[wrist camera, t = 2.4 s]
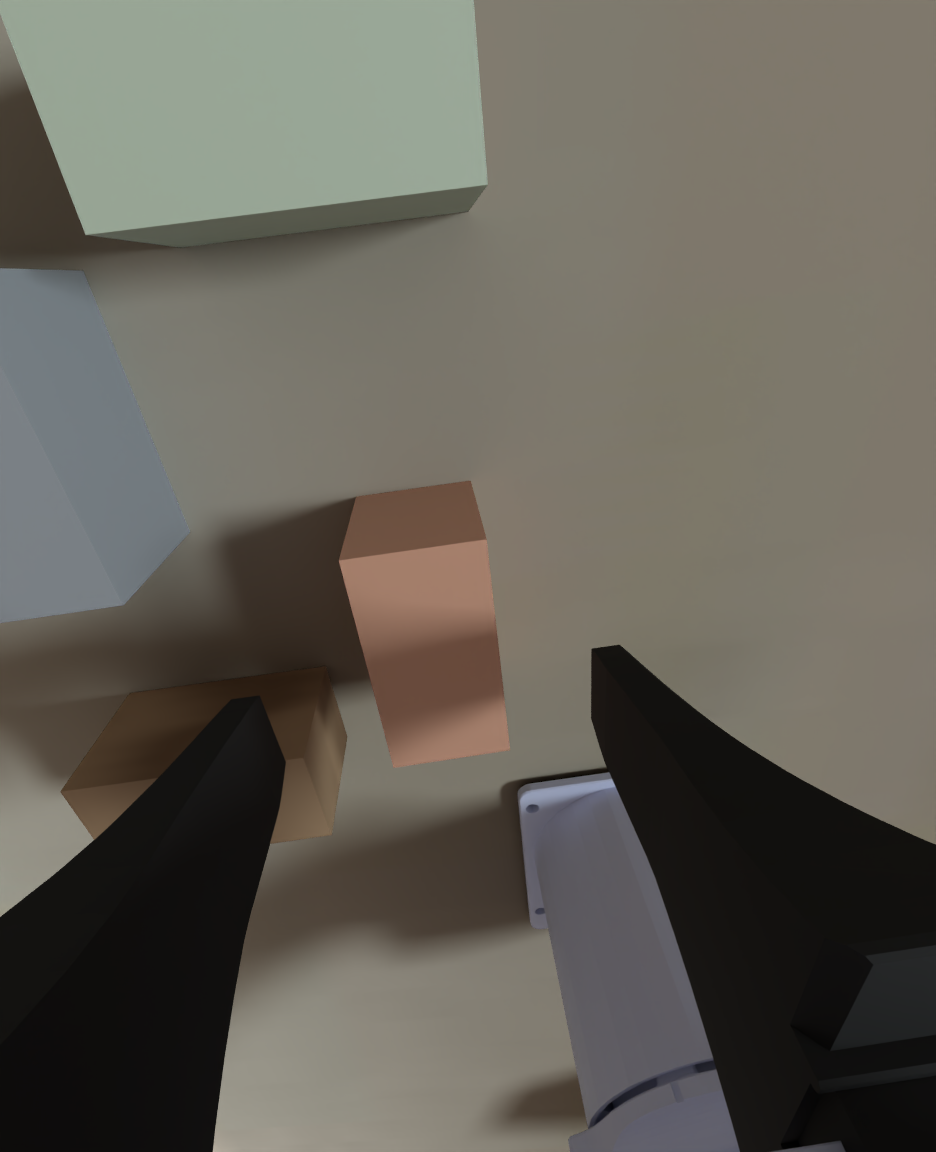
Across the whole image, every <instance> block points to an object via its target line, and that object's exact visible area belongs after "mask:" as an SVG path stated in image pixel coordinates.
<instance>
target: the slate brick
mask: <svg viewBox="0 0 936 1152" xmlns="http://www.w3.org/2000/svg"><path fill="white" fill-rule="evenodd" d="M189 533H190V531H189V528H188V526H187V523H186V521H185V519H184V516H183V514H182V511H181V509H180V506H179V504H178V501H177V499H176V497H175V494H174V492H173V489H172V487H171V484H170V482H169V479H168V477H167V475H166V472H165V470H164V467H163V465H162V462H161V460H160V457H159V455H158V453H157V450H156V448H155V445H154V443H153V440H152V438H151V435H150V433H149V431H148V428H147V426H146V423H145V421H144V418H143V416H142V413H141V411H140V409H139V406H138V404H137V401H136V399H135V396H134V394H133V391H132V389H131V387H130V384H129V382H128V379H127V377H126V374H125V372H124V369H123V367H122V365H121V362H120V360H119V357H118V355H117V352H116V350H115V347H114V345H113V343H112V340H111V338H110V335H109V333H108V330H107V328H106V325H105V323H104V321H103V318H102V316H101V313H100V311H99V308H98V306H97V303H96V301H95V299H94V296H93V294H92V291H91V289H90V286H89V284H88V281H87V279H86V277H85V274H84V272H83V271H80V270H44V269H8V268H0V623H4V622H11V621H18V620H25V619H32V618H39V617H46V616H53V615H60V614H66V613H73V612H80V611H87V610H94V609H101V608H108V607H115V606H122V605H124V604H125V603H126V602H127V601H128V600H129V599H130V598H131V596H132V595H133V594H134V593H135V592H136V591H137V590H138V589H139V588H140V587H141V585H142V584H143V583H144V582H145V581H146V580H147V579H148V578H149V577H150V576H151V574H152V573H153V572H154V571H155V570H156V569H157V568H158V567H159V566H160V565H161V563H162V562H163V561H164V560H165V559H166V558H167V557H168V556H169V555H170V554H171V552H172V551H173V550H174V549H175V548H176V547H177V546H178V545H179V544H180V543H181V541H182V540H183V539H184V538H185V537H186V536H187V535H188V534H189Z"/></svg>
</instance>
